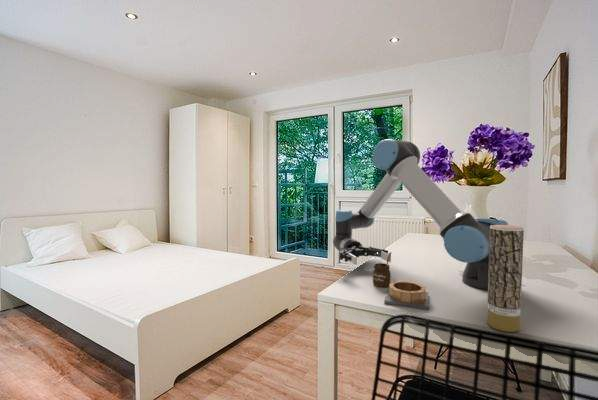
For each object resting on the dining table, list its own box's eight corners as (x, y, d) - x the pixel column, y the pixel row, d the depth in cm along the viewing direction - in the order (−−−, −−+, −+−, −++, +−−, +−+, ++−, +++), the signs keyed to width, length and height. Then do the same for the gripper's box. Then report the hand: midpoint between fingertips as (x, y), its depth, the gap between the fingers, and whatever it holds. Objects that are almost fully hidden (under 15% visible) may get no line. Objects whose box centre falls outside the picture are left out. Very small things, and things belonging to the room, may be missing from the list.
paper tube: (525, 335, 72) (529, 229, 71) (493, 332, 73) (496, 228, 72) (511, 322, 79) (515, 225, 77) (482, 319, 80) (485, 224, 79)
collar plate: (428, 295, 97) (428, 283, 97) (428, 310, 86) (428, 296, 86) (389, 290, 102) (389, 278, 102) (384, 303, 91) (384, 290, 91)
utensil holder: (378, 280, 112) (379, 248, 111) (394, 285, 108) (394, 251, 107) (369, 284, 108) (369, 250, 107) (385, 289, 103) (385, 253, 103)
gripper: (377, 254, 137) (403, 267, 116) (323, 257, 132) (340, 271, 111) (377, 238, 136) (403, 248, 116) (323, 240, 131) (341, 251, 110)
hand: (373, 259), depth 113 cm, fingers open, 13 cm apart
